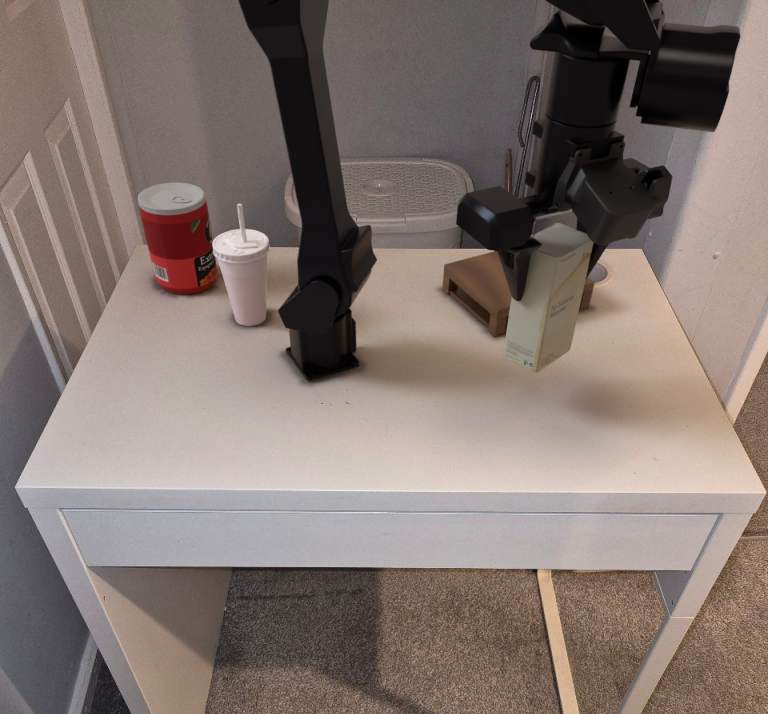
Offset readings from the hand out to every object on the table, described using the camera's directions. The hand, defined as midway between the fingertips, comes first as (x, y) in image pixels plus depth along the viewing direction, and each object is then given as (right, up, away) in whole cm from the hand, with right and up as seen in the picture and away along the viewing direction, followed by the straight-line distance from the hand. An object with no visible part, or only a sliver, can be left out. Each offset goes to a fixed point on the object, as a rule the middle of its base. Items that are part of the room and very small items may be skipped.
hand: (547, 290), depth 72 cm
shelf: (+1, +6, +23) cm, 24 cm away
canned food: (-41, +9, +26) cm, 49 cm away
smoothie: (-32, +2, +20) cm, 37 cm away
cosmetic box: (0, -5, +5) cm, 7 cm away
